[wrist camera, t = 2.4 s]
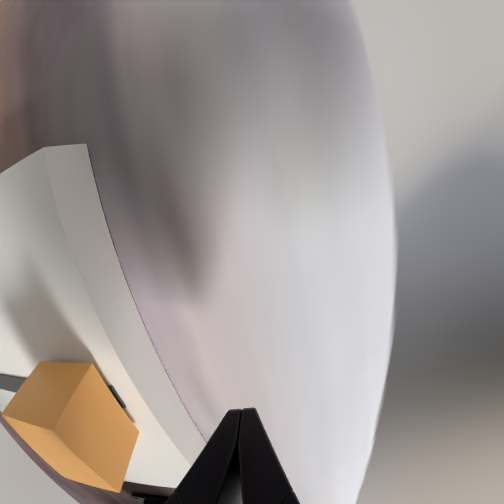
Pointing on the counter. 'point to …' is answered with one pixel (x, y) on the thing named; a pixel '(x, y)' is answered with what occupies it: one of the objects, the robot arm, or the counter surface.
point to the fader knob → (74, 423)
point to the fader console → (82, 307)
